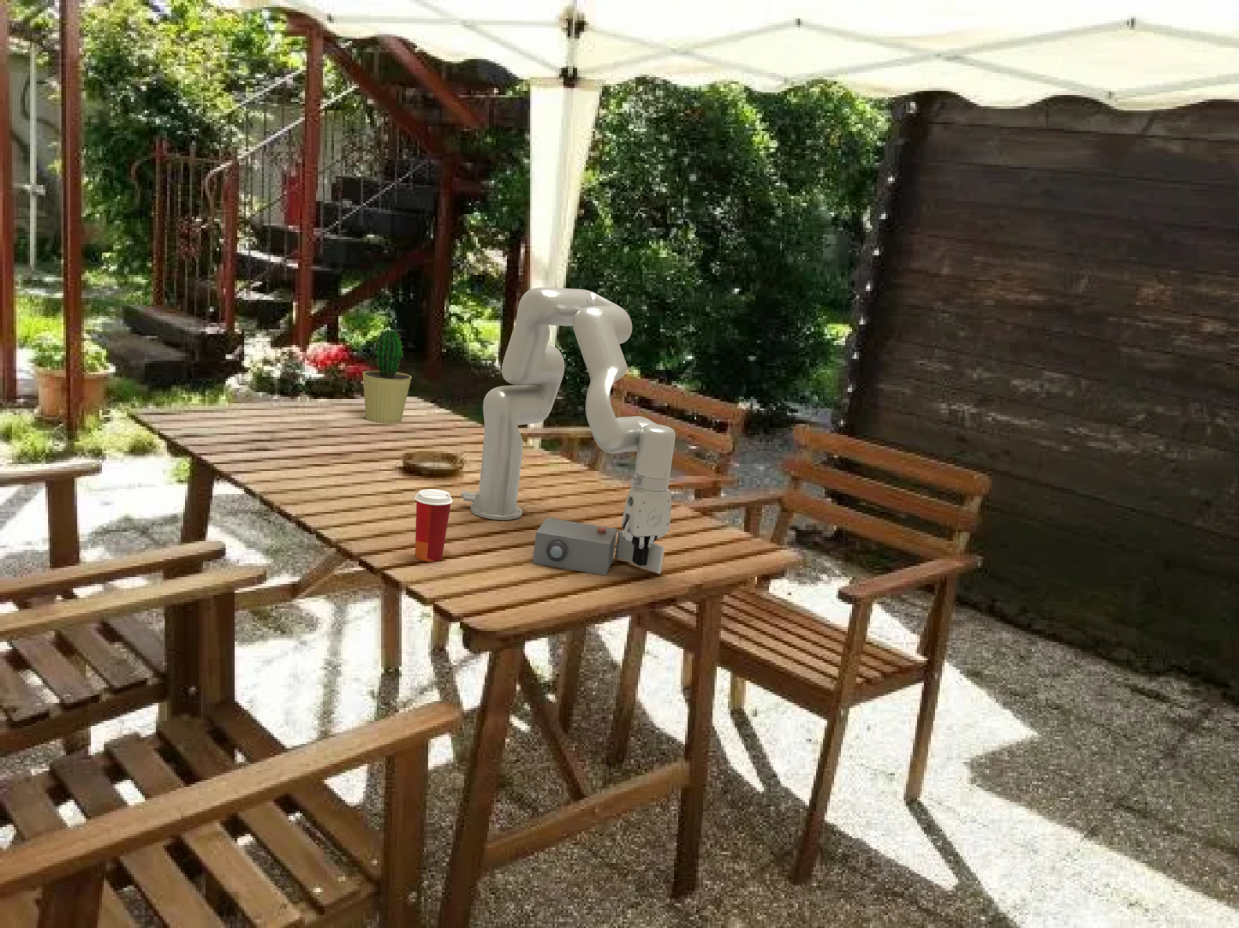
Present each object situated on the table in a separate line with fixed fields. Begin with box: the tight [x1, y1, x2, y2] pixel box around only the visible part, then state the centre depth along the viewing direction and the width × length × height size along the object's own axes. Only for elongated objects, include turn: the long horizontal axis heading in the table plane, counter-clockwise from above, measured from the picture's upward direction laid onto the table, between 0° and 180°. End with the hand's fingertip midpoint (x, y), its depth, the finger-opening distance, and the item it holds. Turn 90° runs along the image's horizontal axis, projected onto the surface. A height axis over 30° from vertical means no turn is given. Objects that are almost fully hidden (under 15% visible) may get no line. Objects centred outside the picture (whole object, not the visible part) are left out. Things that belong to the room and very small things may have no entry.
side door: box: [614, 529, 666, 575], centre depth 235 cm, size 2×12×6 cm, turn 51°
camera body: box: [532, 517, 618, 576], centre depth 233 cm, size 16×13×8 cm
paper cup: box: [414, 488, 453, 563], centre depth 223 cm, size 8×8×14 cm
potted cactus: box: [362, 328, 413, 424], centre depth 343 cm, size 15×15×30 cm
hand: (639, 563), depth 231 cm, fingers closed
